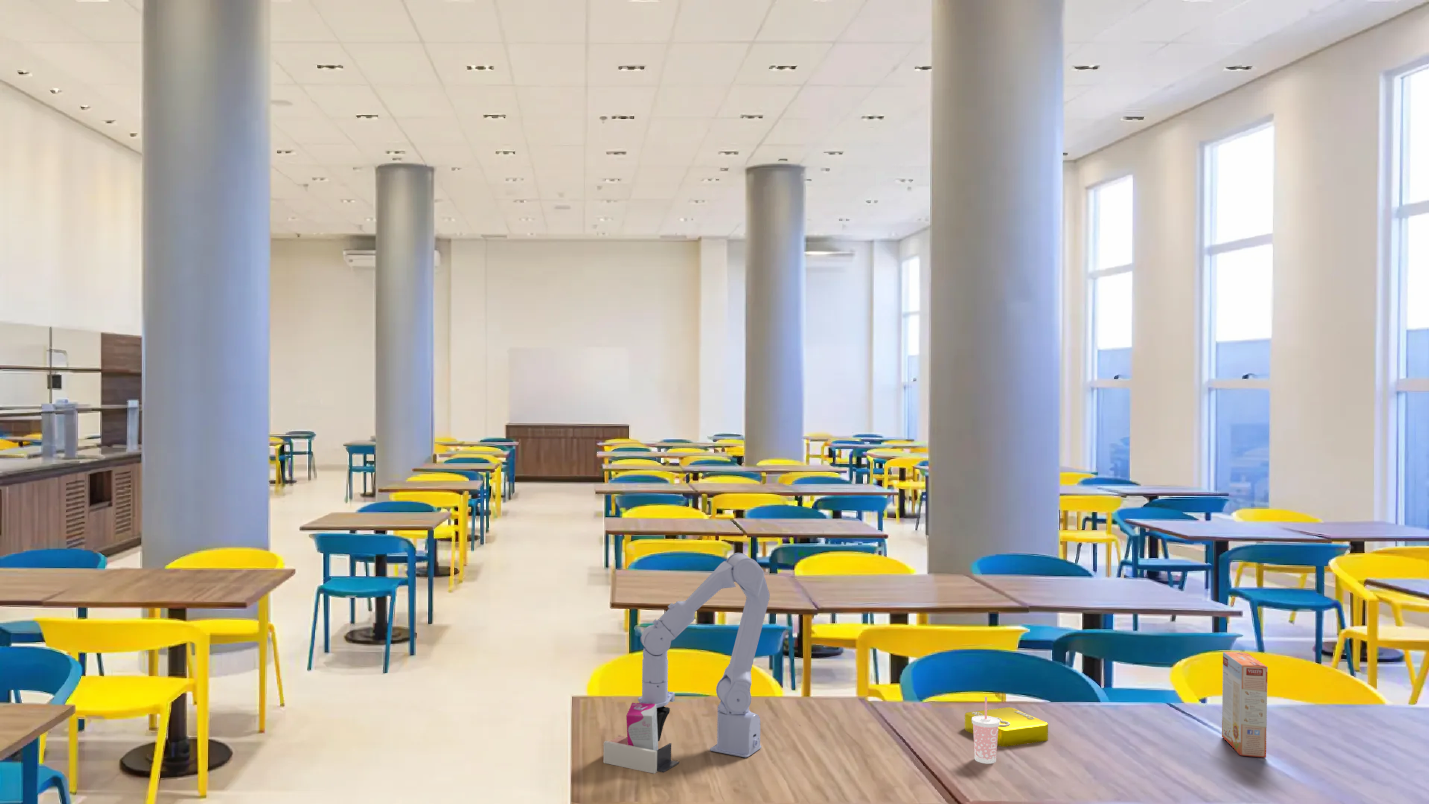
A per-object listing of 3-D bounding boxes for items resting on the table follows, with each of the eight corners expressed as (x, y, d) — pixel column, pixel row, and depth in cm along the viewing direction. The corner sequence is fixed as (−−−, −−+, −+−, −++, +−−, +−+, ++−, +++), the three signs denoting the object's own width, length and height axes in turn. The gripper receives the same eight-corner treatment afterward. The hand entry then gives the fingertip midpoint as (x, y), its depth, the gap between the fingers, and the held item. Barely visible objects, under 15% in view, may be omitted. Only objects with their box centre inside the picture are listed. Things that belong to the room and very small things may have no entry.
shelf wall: (656, 772, 212) (657, 750, 212) (654, 773, 211) (654, 752, 211) (606, 761, 218) (606, 740, 218) (603, 762, 217) (603, 742, 217)
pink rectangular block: (627, 752, 223) (627, 737, 224) (611, 761, 218) (611, 745, 218) (619, 751, 224) (620, 735, 224) (603, 759, 219) (603, 744, 219)
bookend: (678, 763, 217) (679, 744, 217) (663, 772, 211) (663, 753, 212) (669, 761, 218) (669, 743, 218) (654, 770, 213) (654, 751, 213)
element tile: (1051, 742, 236) (1052, 721, 236) (1000, 749, 230) (1000, 728, 230) (1010, 723, 250) (1011, 704, 250) (961, 730, 244) (961, 710, 244)
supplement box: (658, 749, 222) (657, 703, 219) (653, 764, 216) (652, 717, 214) (633, 748, 223) (631, 701, 220) (627, 763, 217) (625, 715, 214)
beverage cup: (980, 765, 218) (980, 701, 218) (966, 756, 224) (966, 694, 224) (1005, 763, 220) (1005, 700, 220) (990, 754, 226) (990, 692, 226)
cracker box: (1268, 758, 225) (1268, 666, 225) (1239, 756, 226) (1240, 664, 226) (1248, 739, 239) (1248, 651, 239) (1221, 737, 240) (1221, 650, 240)
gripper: (656, 670, 232) (655, 729, 231) (622, 685, 219) (621, 747, 219) (682, 674, 228) (682, 734, 228) (649, 689, 215) (649, 752, 215)
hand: (654, 740), depth 223 cm, fingers closed
